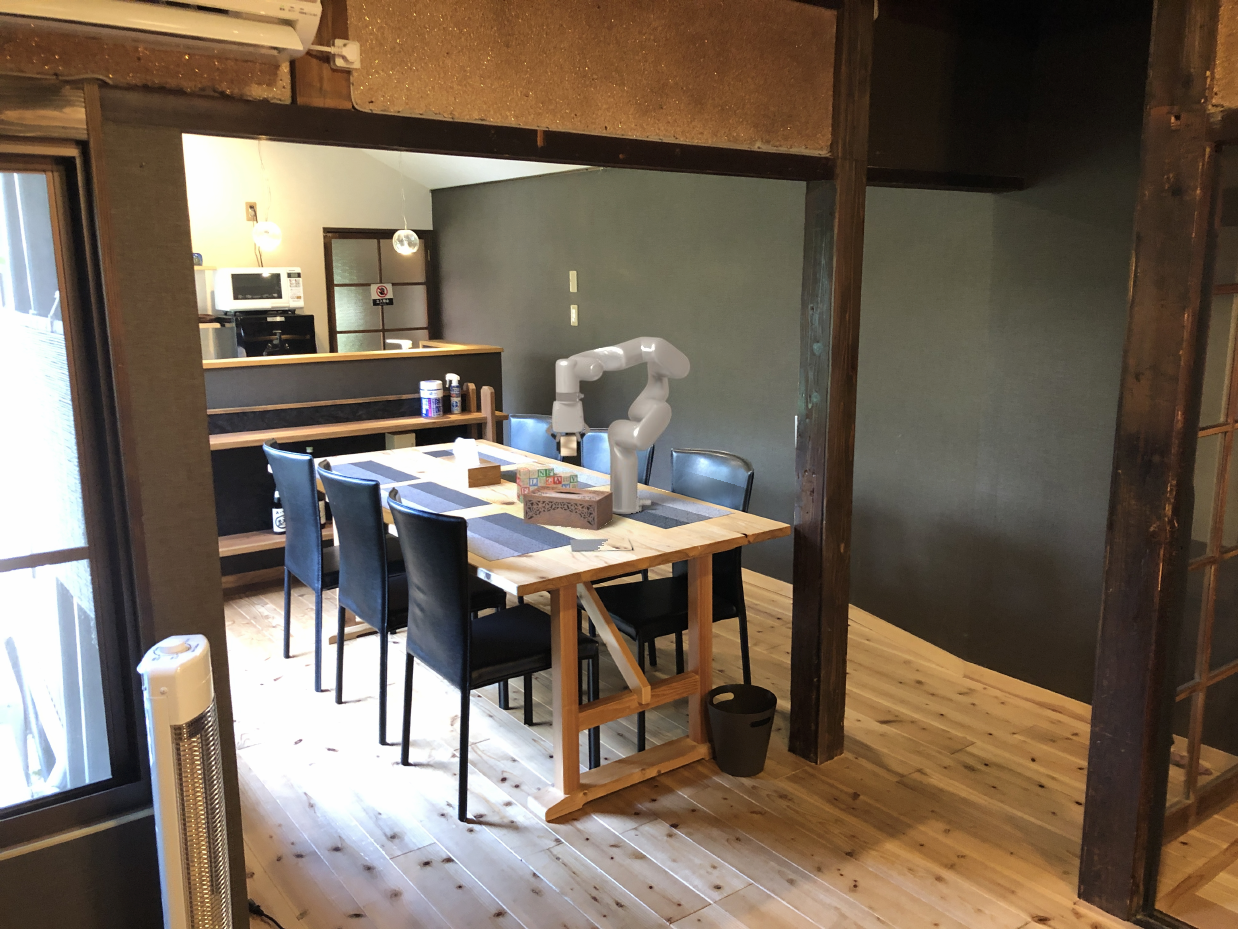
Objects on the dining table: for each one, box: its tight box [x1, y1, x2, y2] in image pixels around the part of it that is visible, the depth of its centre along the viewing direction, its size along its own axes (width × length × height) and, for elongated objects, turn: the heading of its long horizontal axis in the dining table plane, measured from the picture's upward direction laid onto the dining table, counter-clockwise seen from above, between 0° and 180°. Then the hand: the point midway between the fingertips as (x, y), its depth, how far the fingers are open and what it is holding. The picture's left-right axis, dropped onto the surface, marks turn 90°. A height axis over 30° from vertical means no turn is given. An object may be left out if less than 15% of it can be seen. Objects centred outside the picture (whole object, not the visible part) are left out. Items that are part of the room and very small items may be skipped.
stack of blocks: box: [516, 464, 579, 504], centre depth 341 cm, size 21×6×12 cm, turn 111°
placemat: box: [569, 538, 609, 552], centre depth 282 cm, size 18×12×1 cm, turn 96°
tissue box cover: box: [522, 486, 614, 531], centre depth 310 cm, size 26×14×10 cm, turn 70°
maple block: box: [559, 434, 577, 457], centre depth 306 cm, size 5×5×6 cm
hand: (568, 452), depth 306 cm, fingers closed on maple block, 5 cm apart
